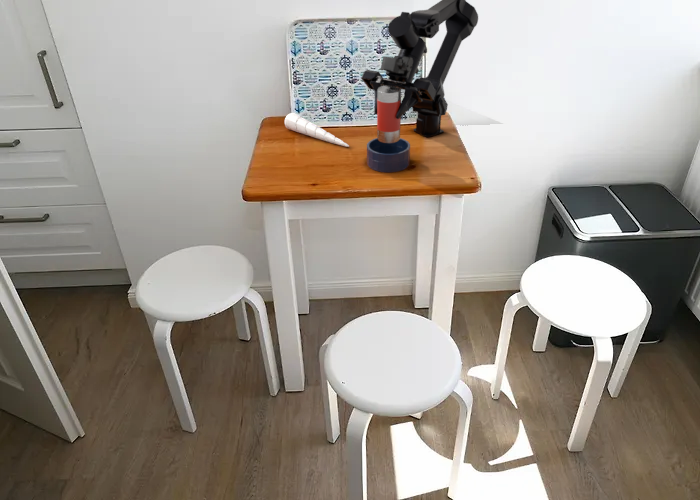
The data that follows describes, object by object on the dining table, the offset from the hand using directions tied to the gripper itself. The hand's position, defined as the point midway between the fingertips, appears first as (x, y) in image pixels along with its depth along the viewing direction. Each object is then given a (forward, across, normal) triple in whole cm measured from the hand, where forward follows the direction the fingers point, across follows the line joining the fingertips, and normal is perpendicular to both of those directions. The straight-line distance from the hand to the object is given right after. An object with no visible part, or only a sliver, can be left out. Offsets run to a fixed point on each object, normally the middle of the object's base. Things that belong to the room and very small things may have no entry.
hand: (386, 115), depth 144 cm
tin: (+4, 0, +6) cm, 7 cm away
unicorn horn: (+6, -26, +14) cm, 30 cm away
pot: (+9, 0, +10) cm, 13 cm away
